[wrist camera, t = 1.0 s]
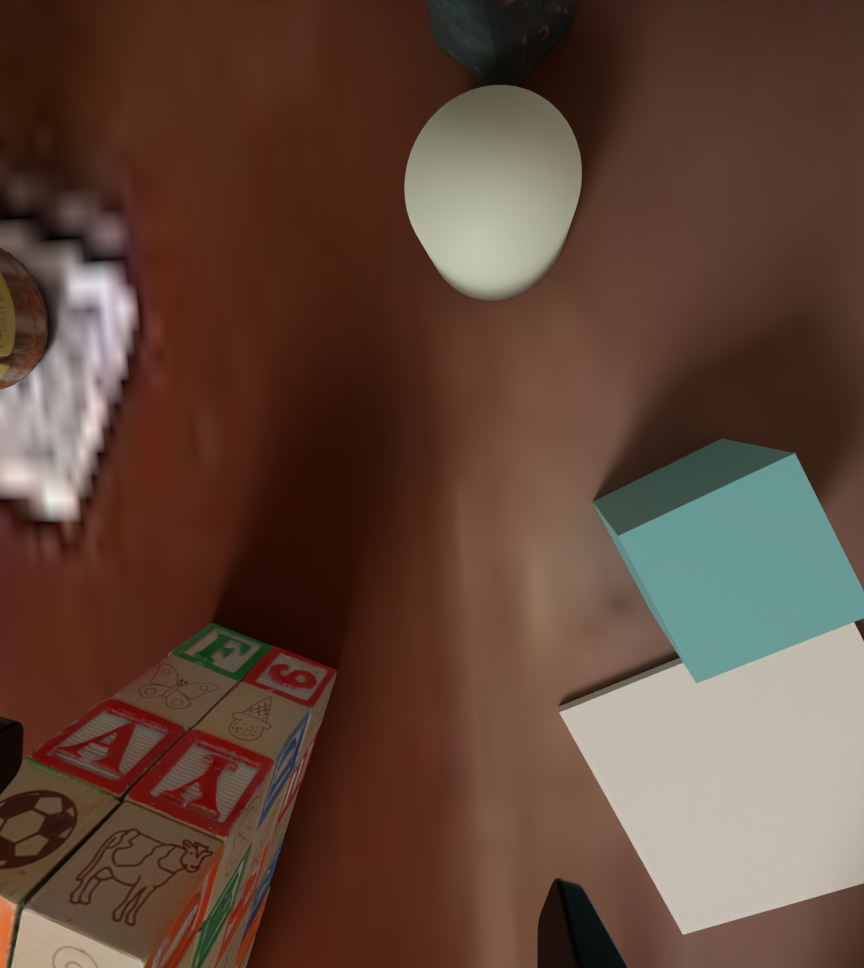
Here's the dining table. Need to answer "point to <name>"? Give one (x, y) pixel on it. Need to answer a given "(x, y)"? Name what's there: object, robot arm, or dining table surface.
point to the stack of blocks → (160, 812)
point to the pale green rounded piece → (494, 190)
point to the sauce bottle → (19, 321)
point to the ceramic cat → (499, 34)
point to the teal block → (733, 555)
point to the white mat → (737, 776)
